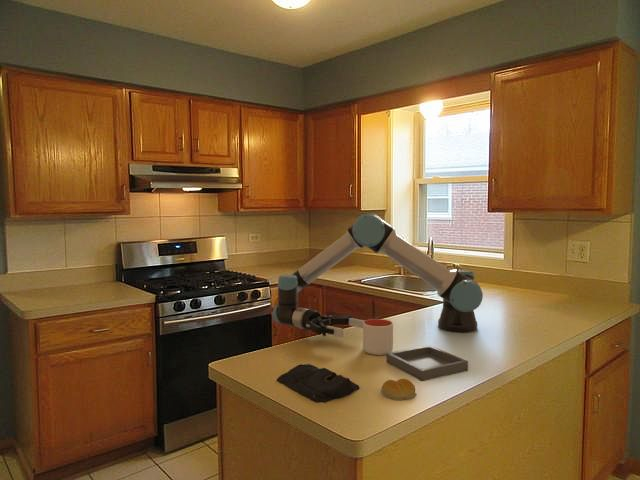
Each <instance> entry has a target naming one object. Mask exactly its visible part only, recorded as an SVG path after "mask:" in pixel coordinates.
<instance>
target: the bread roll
mask: <svg viewBox="0 0 640 480" xmlns="http://www.w3.org/2000/svg"><path fill="white" fill-rule="evenodd" d="M380 391H381V394H382V396H384V397H385V398H387V399H390V400H393V401H403V400H407V401H408V400H409V401H410V400H413V399H414V398H415V397H416V396H417V393H416V385H414V383H413V381H411V380H409V379H407V378H400V379H398V380H393V379H388V380H386V381H384V383H382V386H381V389H380Z"/></svg>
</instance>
